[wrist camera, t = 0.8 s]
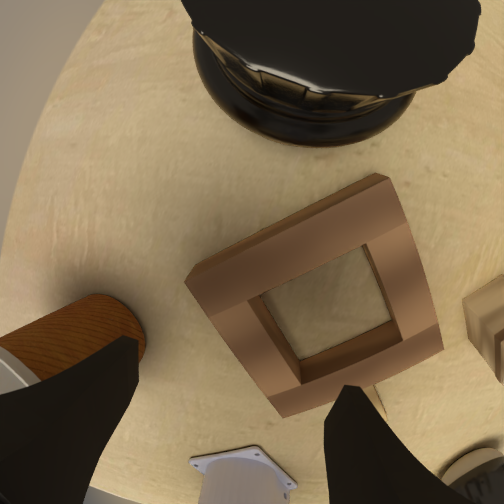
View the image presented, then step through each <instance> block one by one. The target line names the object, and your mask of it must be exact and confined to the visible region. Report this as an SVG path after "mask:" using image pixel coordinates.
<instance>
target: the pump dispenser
mask: <svg viewBox="0 0 504 504" xmlns="http://www.w3.org/2000/svg"><path fill="white" fill-rule="evenodd" d="M441 481H442V482H443V483H445V484H446V485H447V486H449V487H450V488H452V489H453V490H455V491H456V492H458V493H459V494H461V495H462V496H464V497H466V498H467V499H469V500H471V501H473V502H475V503H477V504H504V455H503V454H502V453H501V452H500V451H498V450H496V449H493V448H482V449H478V450H475V451H472V452H470V453H468V454H466V455H464V456H463V457H461V458H460V459H458V460H457V461H456V462H455V463H454V464H452V465H451V466H450V468H449V469H448V470H447V471H446V473H445V474H444V476H443V478H442V480H441Z"/></svg>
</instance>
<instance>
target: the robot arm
mask: <svg viewBox="0 0 504 504" xmlns="http://www.w3.org/2000/svg"><path fill="white" fill-rule="evenodd" d="M138 382H139V340H137V339H134V338H131V337H128V336H124V335H122V336H120V337H119V338H117V339H115V340H114V341H112V342H111V343H109V344H108V345H106V346H104V347H103V348H101V349H100V350H98V351H97V352H95V353H93V354H92V355H90V356H88V357H87V358H85V359H84V360H82V361H80V362H79V363H77V364H75V365H73V366H71V367H69V368H68V369H66V370H64V371H62V372H60V373H58V374H56V375H54V376H52V377H50V378H48V379H45V380H43V381H41V382H38V383H36V384H33V385H30V386H28V387H24V388H21V389H18V390H14V391H11V392H8V393H4V394H0V504H83V501H84V498H85V495H86V492H87V489H88V486H89V484H90V481H91V478H92V475H93V473H94V470H95V468H96V465H97V463H98V460H99V458H100V456H101V454H102V452H103V450H104V448H105V446H106V444H107V443H108V441H109V439H110V437H111V436H112V434H113V432H114V430H115V429H116V427H117V425H118V423H119V422H120V420H121V418H122V416H123V415H124V413H125V411H126V409H127V408H128V406H129V404H130V402H131V399H132V397H133V395H134V392H135V390H136V387H137V385H138ZM324 453H325V462H326V471H327V480H328V489H329V504H477V503H475V502H473V501H471V500H469V499H467V498H466V497H464V496H462V495H461V494H459V493H458V492H456V491H455V490H453V489H452V488H450V487H449V486H447V485H446V484H445V483H443V482H442V481H441V480H440V479H438V478H437V477H436V476H435V475H433V474H432V473H431V472H430V471H429V470H428V469H427V468H426V467H425V466H424V465H423V464H422V463H420V462H419V461H418V460H417V459H416V458H415V457H414V456H413V454H412V453H411V452H410V451H409V450H408V449H407V448H406V447H405V445H404V444H403V443H402V442H401V441H400V440H399V438H398V437H397V436H396V435H395V433H394V432H393V431H392V430H391V428H390V427H389V426H388V424H387V423H386V422H385V420H384V419H383V418H382V416H381V415H380V413H379V412H378V411H377V409H376V408H375V406H374V405H373V404H372V402H371V401H370V399H369V398H368V397H367V395H366V394H365V392H364V391H363V390H362V388H361V387H360V386H352V385H344V386H343V388H342V390H341V392H340V394H339V396H338V397H337V399H336V401H335V403H334V405H333V407H332V408H331V410H330V412H329V414H328V416H327V417H326V419H325V421H324ZM189 463H190V464H191V465H192V466H193V467H194V468H196V469H197V470H198V471H199V472H201V473H202V474H203V475H204V479H203V484H202V488H201V493H200V497H199V501H198V504H289V502H290V490H292V489H296V488H297V487H298V485H297V483H296V482H294V481H293V480H292V479H291V478H290V477H289V476H288V475H287V474H286V473H285V472H284V471H283V470H282V469H280V468H279V467H278V466H277V465H276V464H275V463H274V462H273V461H272V460H271V459H270V458H269V457H268V456H267V455H266V454H265V453H264V452H263V451H262V450H261V449H260V448H259V447H257V446H252V447H248V448H243V449H239V450H234V451H229V452H224V453H219V454H213V455H208V456H202V457H195V458H190V459H189Z"/></svg>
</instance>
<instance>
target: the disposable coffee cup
mask: <svg viewBox="0 0 504 504" xmlns="http://www.w3.org/2000/svg"><path fill="white" fill-rule="evenodd" d="M122 335H124V336H128V337H131V338H134V339H137V340H139V362H140V361H141V359H142V357H143V354H144V351H145V340H144V335H143V332H142V329H141V327H140V325H139V323H138V321H137V320H136V318H135V317H134V315H133V314H132V313H131V312H130V311H129V310H128V309H127V308H126V307H125V306H124V305H123V304H122V303H120V302H119V301H117V300H115V299H114V298H112V297H109V296H107V295H101V294H92V295H89V296H87V297H85V298H83V299H81V300H78V301H76V302H74V303H72V304H70V305H68V306H65V307H63V308H61V309H59V310H57V311H55V312H53V313H50V314H48V315H46V316H44V317H42V318H40V319H38V320H36V321H33V322H32V323H30V324H27V325H25V326H23V327H21V328H19V329H17V330H15V331H13V332H11V333H9V334H6V335H4V336H3V337H0V394H4V393H8V392H11V391H14V390H18V389H21V388H24V387H28V386H30V385H33V384H36V383H38V382H41V381H43V380H45V379H48V378H50V377H52V376H54V375H56V374H58V373H60V372H62V371H64V370H66V369H68V368H69V367H71V366H73V365H75V364H77V363H79V362H80V361H82V360H84V359H85V358H87V357H88V356H90V355H92V354H93V353H95V352H97V351H98V350H100V349H101V348H103V347H104V346H106V345H108V344H109V343H111V342H112V341H114V340H115V339H117V338H119V337H120V336H122Z"/></svg>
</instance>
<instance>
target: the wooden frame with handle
mask: <svg viewBox="0 0 504 504" xmlns="http://www.w3.org/2000/svg"><path fill="white" fill-rule="evenodd" d="M361 245H362V246H363V248H364V251H365V253H366V255H367V258H368V260H369V262H370V265H371V267H372V270H373V272H374V274H375V277H376V279H377V282H378V284H379V287H380V289H381V292H382V295H383V297H384V300H385V302H386V305H387V308H388V310H389V313H390V316H391V318H392V320H391V321H389V322H387V323H385V324H383V325H381V326H379V327H377V328H375V329H373V330H371V331H369V332H367V333H364V334H362V335H360V336H358V337H356V338H354V339H351V340H349V341H347V342H345V343H342V344H340V345H338V346H336V347H333V348H331V349H329V350H326V351H324V352H322V353H319V354H317V355H314V356H312V357H310V358H307V359H305V360H302V361H299V360H298V358H297V356H296V355H295V353H294V351H293V350H292V348H291V347H290V345H289V343H288V342H287V340H286V339H285V337H284V335H283V334H282V332H281V330H280V329H279V327H278V326H277V324H276V322H275V321H274V319H273V317H272V316H271V314H270V312H269V311H268V309H267V308H266V306H265V304H264V303H263V301H262V299H261V298H260V296H259V295H260V294H262V293H264V292H266V291H268V290H271V289H273V288H275V287H277V286H279V285H281V284H283V283H286V282H288V281H290V280H292V279H294V278H296V277H298V276H300V275H302V274H304V273H307V272H309V271H311V270H313V269H315V268H317V267H319V266H321V265H323V264H325V263H327V262H329V261H331V260H333V259H335V258H337V257H339V256H341V255H343V254H345V253H347V252H349V251H351V250H353V249H355V248H357V247H359V246H361ZM184 282H185V284H186V286H187V287H188V289H189V290H190V292H191V293H192V295H193V296H194V298H195V299H196V300H197V302H198V303H199V305H200V306H201V308H202V309H203V311H204V312H205V314H206V315H207V317H208V318H209V320H210V321H211V322H212V324H213V325H214V327H215V328H216V330H217V331H218V332H219V334H220V335H221V337H222V338H223V339H224V341H225V342H226V344H227V345H228V346H229V348H230V349H231V351H232V352H233V353H234V355H235V356H236V357H237V359H238V360H239V362H240V363H241V364H242V366H243V367H244V368H245V370H246V371H247V372H248V374H249V375H250V376H251V378H252V379H253V380H254V382H255V383H256V384H257V386H258V387H259V388H260V390H261V391H262V392H263V393H264V395H265V396H266V397H267V399H268V400H269V401H270V403H271V404H272V405H273V406H274V408H275V409H276V410H277V411H278V413H279V414H280V415H281V416H282V418H285V417H289V416H292V415H295V414H298V413H301V412H304V411H307V410H310V409H313V408H316V407H318V406H321V405H324V404H327V403H329V402H332V401H335V400H336V399H337V397H338V396H339V394H340V392H341V390H342V388H343V386H344V385H352V386H360V387H361V388H362V390H363V391H364V392H365V394H366V395H367V397H368V398H369V399H370V401H371V402H372V404H373V405H374V406H375V408H376V409H377V411H378V412H379V413H380V415H381V416H382V418H383V419H384V420H385V422H387V421H388V418H387V415H386V413H385V410H384V408H383V406H382V403H381V401H380V399H379V396H378V394H377V392H376V389H375V387H374V384H376V383H378V382H380V381H383V380H385V379H387V378H389V377H391V376H393V375H396V374H398V373H400V372H402V371H404V370H406V369H408V368H410V367H412V366H414V365H416V364H418V363H420V362H422V361H424V360H426V359H427V358H429V357H431V356H433V355H435V354H437V353H439V352H440V351H442V350H444V347H443V342H442V337H441V333H440V329H439V324H438V320H437V316H436V312H435V308H434V304H433V301H432V297H431V293H430V290H429V286H428V283H427V279H426V276H425V273H424V269H423V266H422V263H421V260H420V257H419V254H418V251H417V248H416V245H415V242H414V239H413V236H412V233H411V230H410V228H409V225H408V222H407V219H406V217H405V214H404V212H403V209H402V206H401V204H400V201H399V199H398V196H397V194H396V191H395V189H394V187H393V184H392V182H391V180H390V178H389V177H386V176H383V175H380V174H377V173H374V174H372V175H370V176H368V177H366V178H364V179H362V180H360V181H358V182H356V183H354V184H352V185H350V186H348V187H346V188H344V189H342V190H340V191H338V192H336V193H334V194H332V195H330V196H328V197H326V198H324V199H322V200H320V201H318V202H316V203H314V204H312V205H310V206H308V207H306V208H304V209H302V210H300V211H298V212H296V213H294V214H293V215H291V216H289V217H287V218H285V219H283V220H281V221H279V222H277V223H275V224H273V225H271V226H269V227H267V228H265V229H263V230H261V231H259V232H257V233H255V234H254V235H252V236H250V237H248V238H246V239H244V240H242V241H240V242H238V243H236V244H234V245H232V246H230V247H228V248H227V249H225V250H223V251H221V252H219V253H217V254H215V255H213V256H211V257H209V258H207V259H205V260H204V261H202V262H200V263H198V264H196V265H195V266H194V267H193V269H192V270H191V272H190V274H189V275H188V277H187V278H186V280H185V281H184Z"/></svg>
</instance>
